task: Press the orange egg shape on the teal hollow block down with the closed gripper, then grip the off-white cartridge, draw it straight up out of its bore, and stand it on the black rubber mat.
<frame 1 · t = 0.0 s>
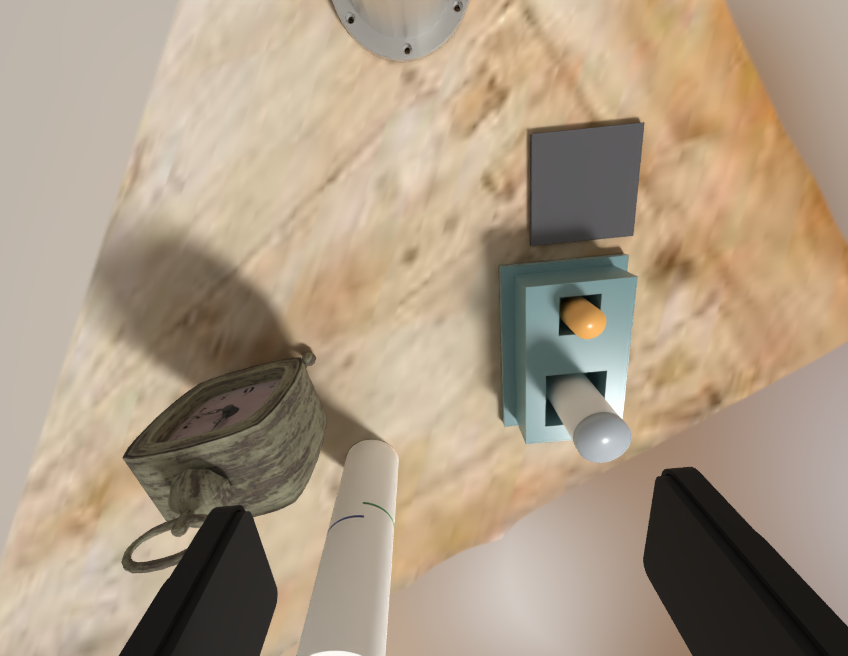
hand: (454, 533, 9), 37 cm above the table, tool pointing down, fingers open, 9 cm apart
mat: (582, 187, 41), on the table
tabletop clock: (279, 384, 50), on the table
cylindrical container: (372, 459, 54), on the table
cartridge: (560, 377, 48), point 1 cm above the table, touching teal hollow block
teal hollow block: (558, 344, 48), on the table
orange egg shape: (580, 316, 40), point 6 cm above the table, slide at 0.0 cm
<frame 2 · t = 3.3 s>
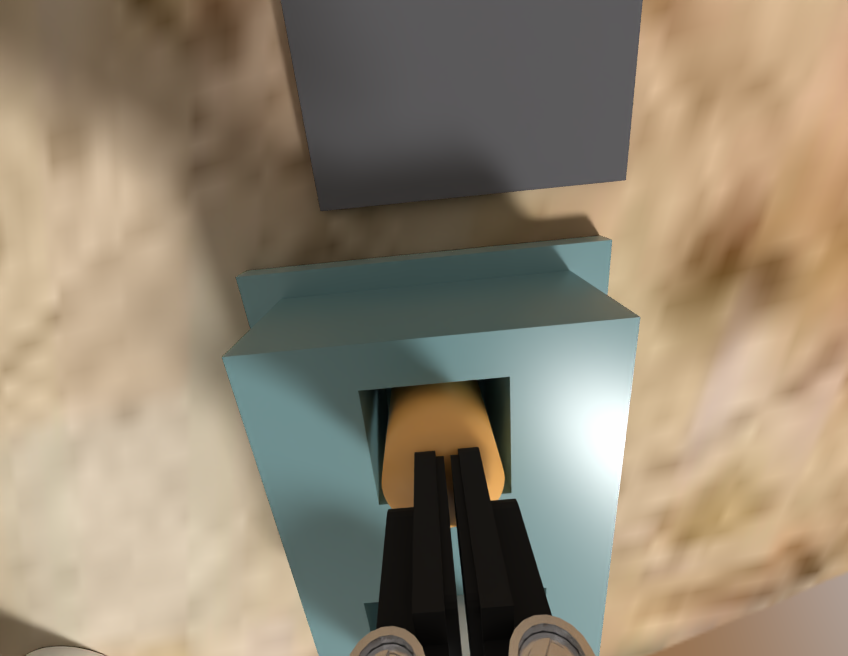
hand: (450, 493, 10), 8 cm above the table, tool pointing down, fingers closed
mat: (461, 14, 13), on the table
cartridge: (449, 539, 20), point 1 cm above the table, touching teal hollow block
teal hollow block: (442, 463, 19), on the table
orange egg shape: (438, 430, 12), point 5 cm above the table, slide at 1.0 cm, touching gripper
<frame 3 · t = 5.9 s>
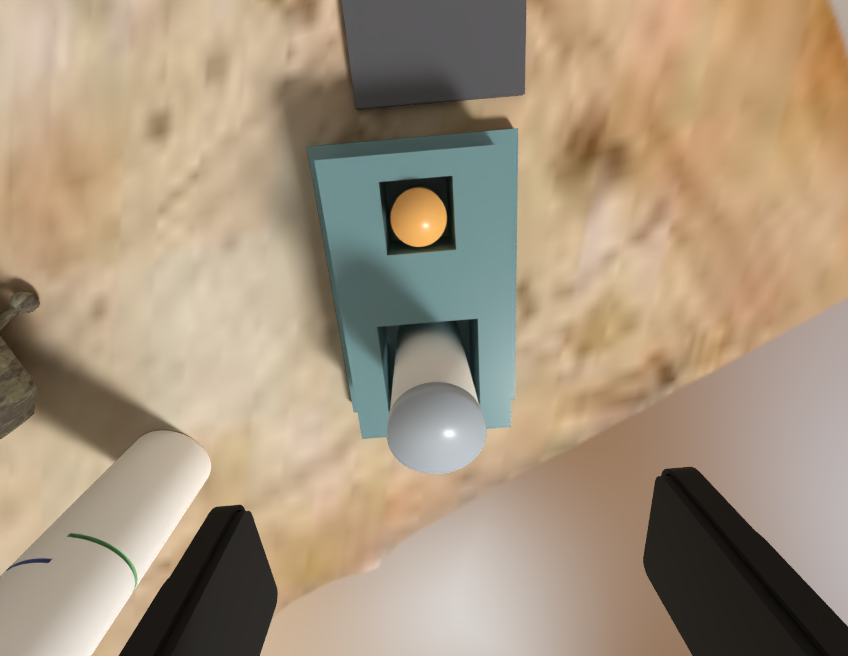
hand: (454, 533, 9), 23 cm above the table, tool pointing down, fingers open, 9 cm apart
tabletop clock: (0, 344, 32), on the table
cylindrical container: (173, 460, 37), on the table
cartridge: (428, 337, 31), point 1 cm above the table, touching teal hollow block
teal hollow block: (424, 286, 31), on the table
orange egg shape: (418, 214, 24), point 5 cm above the table, slide at 1.8 cm
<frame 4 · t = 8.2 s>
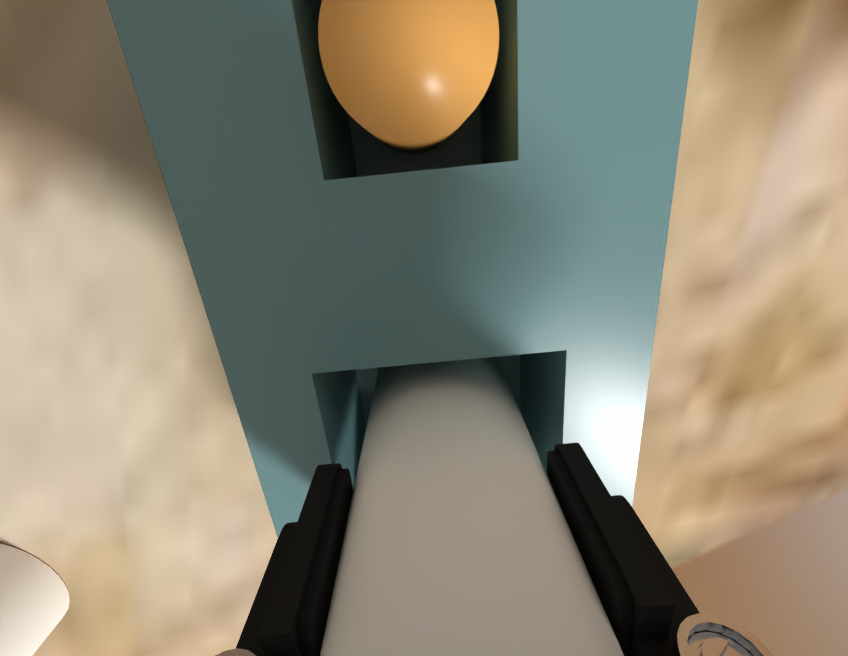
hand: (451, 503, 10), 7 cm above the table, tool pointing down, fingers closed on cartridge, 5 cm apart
cylindrical container: (3, 584, 22), on the table
cartridge: (439, 379, 16), point 1 cm above the table, touching teal hollow block, gripper
teal hollow block: (429, 277, 15), on the table
orange egg shape: (411, 72, 9), point 5 cm above the table, slide at 1.8 cm
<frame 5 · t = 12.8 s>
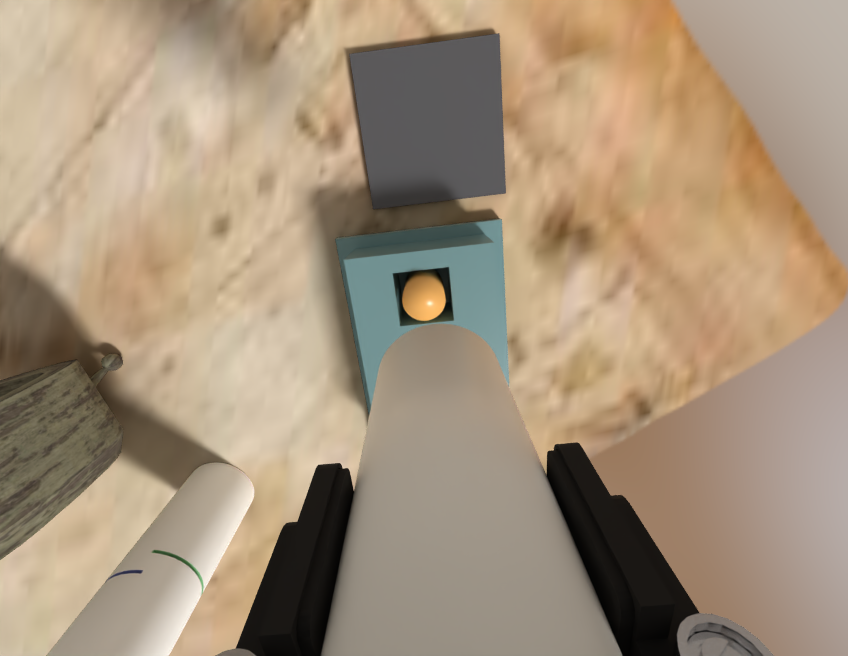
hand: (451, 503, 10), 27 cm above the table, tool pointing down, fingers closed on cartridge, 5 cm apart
mat: (431, 128, 31), on the table
tabletop clock: (89, 394, 40), on the table
cylindrical container: (222, 487, 44), on the table
cartridge: (439, 380, 16), point 20 cm above the table, touching gripper
teal hollow block: (431, 340, 37), on the table
orange egg shape: (423, 292, 31), point 5 cm above the table, slide at 1.8 cm
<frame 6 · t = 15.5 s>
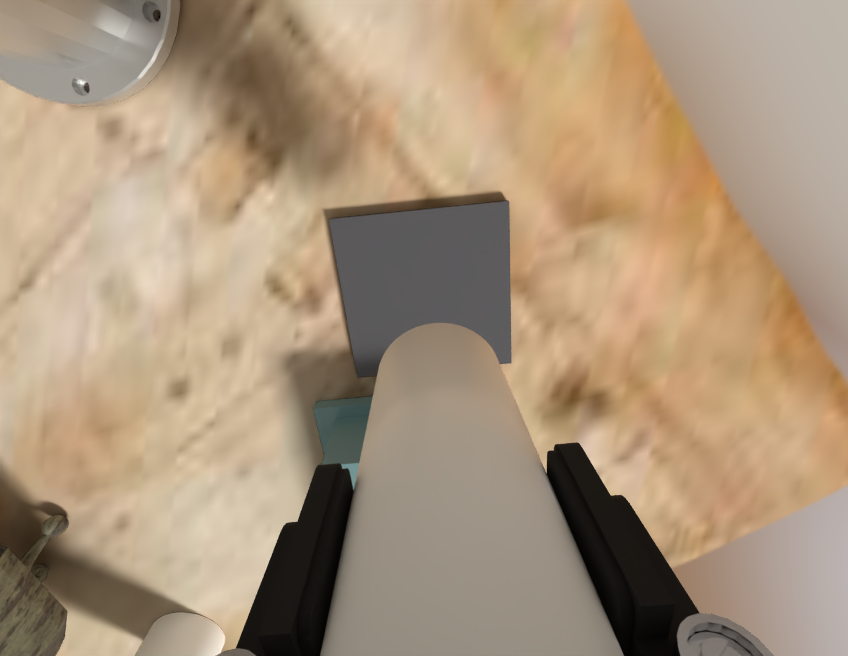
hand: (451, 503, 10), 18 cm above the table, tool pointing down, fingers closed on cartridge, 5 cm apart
mat: (426, 294, 26), on the table
tabletop clock: (31, 549, 35), on the table
cylindrical container: (189, 633, 39), on the table
cartridge: (439, 380, 16), point 11 cm above the table, touching gripper
teal hollow block: (422, 499, 33), on the table
when the fingers open (8 cm above the table, at t = 17.6 s): cartridge drops 1 cm, resting on mat.
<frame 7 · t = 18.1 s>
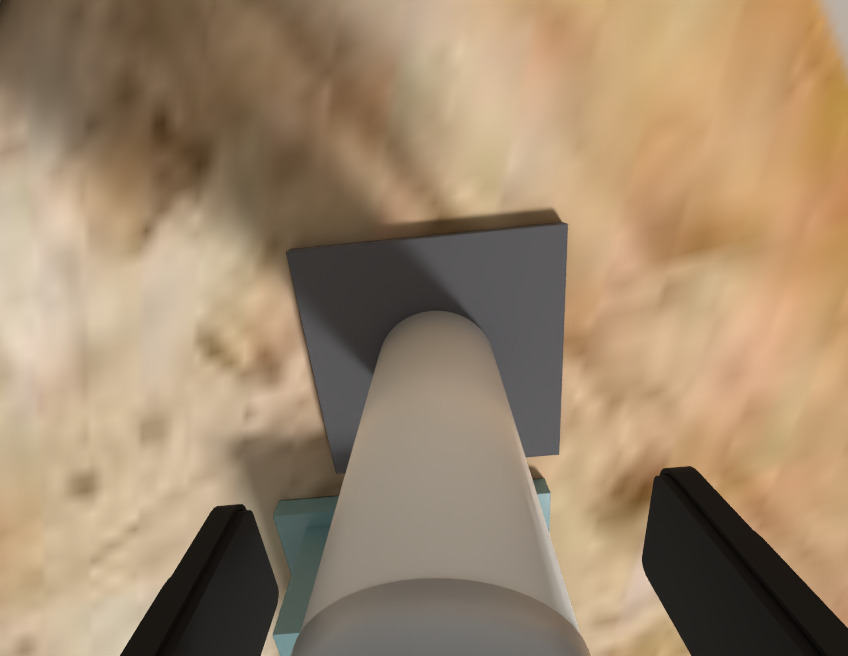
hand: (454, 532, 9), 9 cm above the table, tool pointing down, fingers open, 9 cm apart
mat: (436, 358, 18), on the table
cartridge: (436, 364, 17), point 1 cm above the table, touching mat
teal hollow block: (429, 620, 24), on the table
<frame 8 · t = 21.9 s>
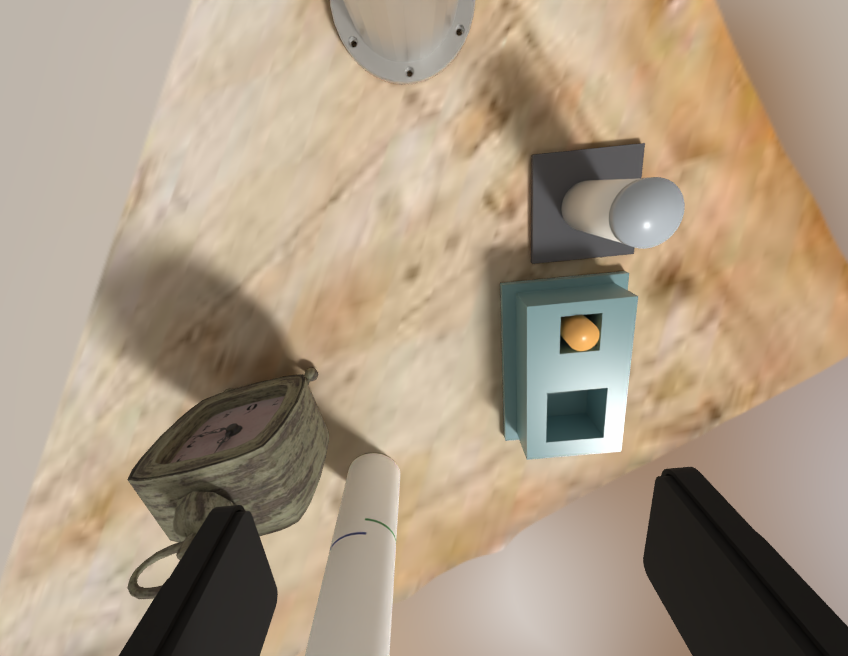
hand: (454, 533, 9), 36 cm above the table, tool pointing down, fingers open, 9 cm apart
mat: (583, 206, 41), on the table
tabletop clock: (281, 398, 50), on the table
cylindrical container: (374, 473, 54), on the table
cartridge: (585, 206, 41), point 1 cm above the table, touching mat
teal hollow block: (559, 360, 48), on the table
orange egg shape: (575, 328, 42), point 5 cm above the table, slide at 1.8 cm
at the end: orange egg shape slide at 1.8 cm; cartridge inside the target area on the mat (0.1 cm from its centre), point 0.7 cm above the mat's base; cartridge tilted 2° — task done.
